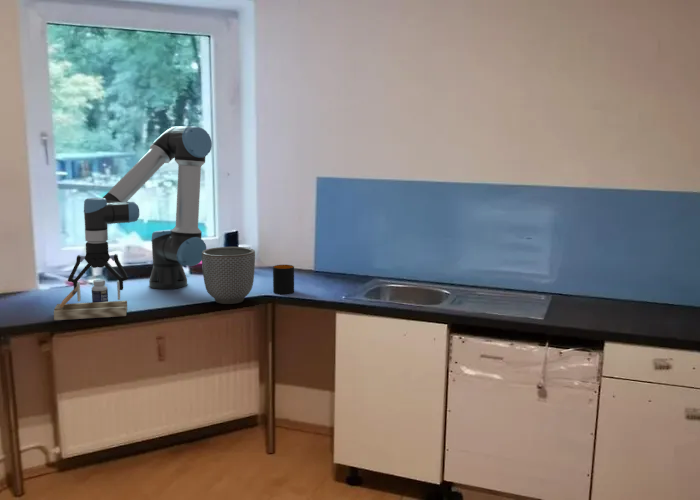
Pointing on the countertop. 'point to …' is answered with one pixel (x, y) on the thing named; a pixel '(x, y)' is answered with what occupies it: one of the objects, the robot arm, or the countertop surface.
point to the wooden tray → (90, 310)
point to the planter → (228, 273)
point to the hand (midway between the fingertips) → (99, 299)
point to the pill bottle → (99, 291)
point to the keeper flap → (69, 296)
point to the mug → (283, 279)
